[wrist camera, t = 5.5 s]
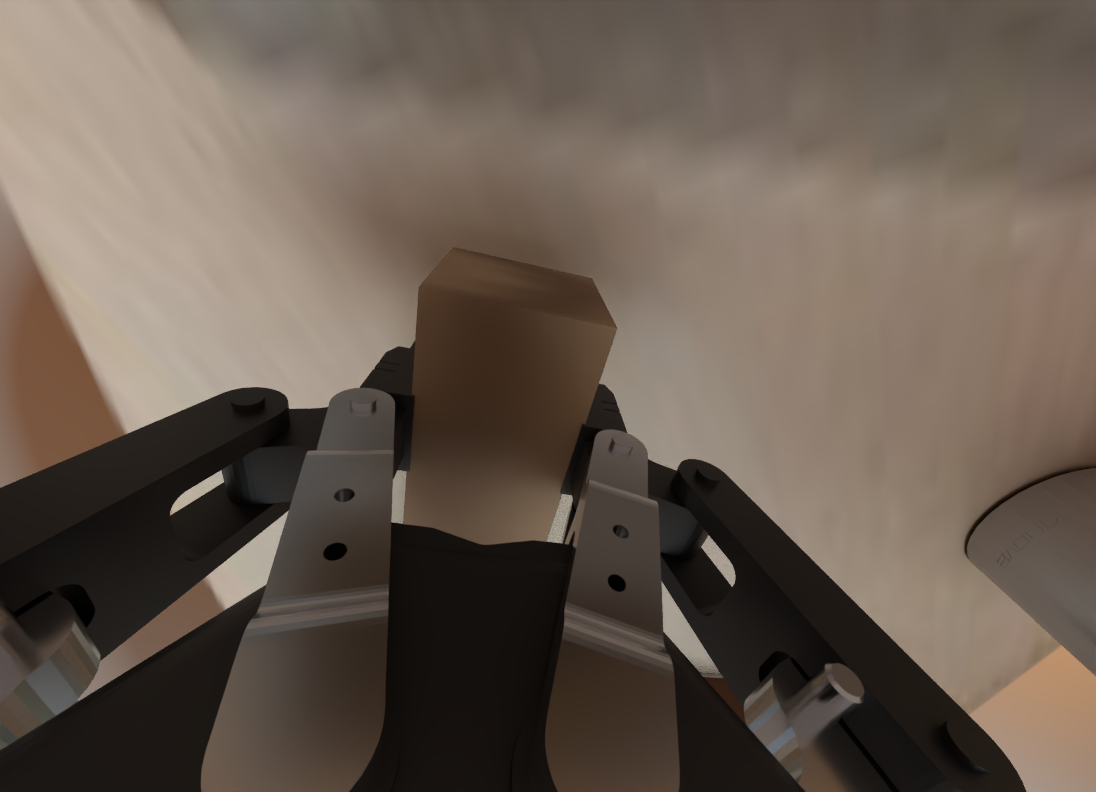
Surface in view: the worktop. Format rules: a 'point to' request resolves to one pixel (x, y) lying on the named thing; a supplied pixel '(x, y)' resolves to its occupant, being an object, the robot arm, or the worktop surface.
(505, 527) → the brown rectangular block
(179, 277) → the worktop surface
